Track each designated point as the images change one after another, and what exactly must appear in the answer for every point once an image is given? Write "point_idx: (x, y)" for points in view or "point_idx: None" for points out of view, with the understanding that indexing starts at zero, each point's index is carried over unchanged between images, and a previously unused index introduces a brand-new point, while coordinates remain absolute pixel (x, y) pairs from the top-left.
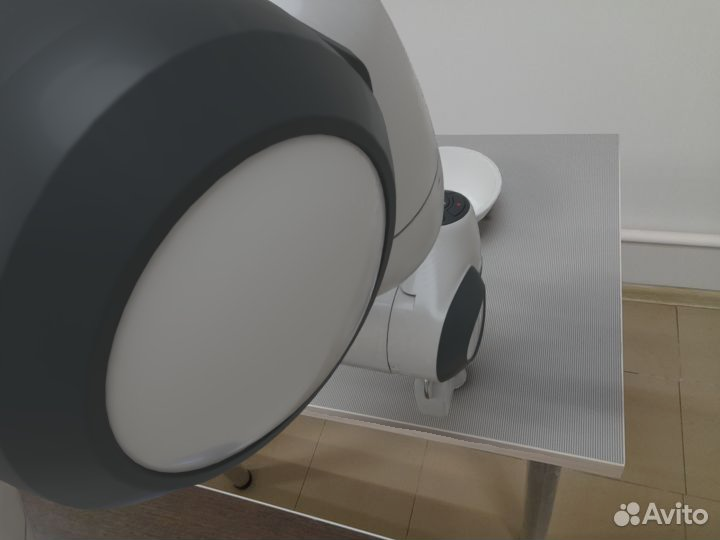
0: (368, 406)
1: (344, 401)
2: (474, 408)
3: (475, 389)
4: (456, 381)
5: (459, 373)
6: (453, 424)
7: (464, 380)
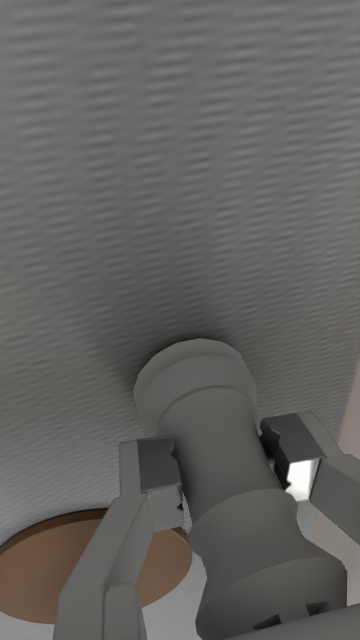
0: None
1: None
2: (298, 273)
3: (220, 289)
4: (247, 381)
5: (226, 392)
6: (356, 321)
7: (206, 342)
